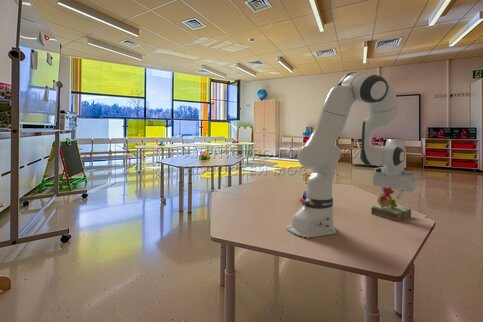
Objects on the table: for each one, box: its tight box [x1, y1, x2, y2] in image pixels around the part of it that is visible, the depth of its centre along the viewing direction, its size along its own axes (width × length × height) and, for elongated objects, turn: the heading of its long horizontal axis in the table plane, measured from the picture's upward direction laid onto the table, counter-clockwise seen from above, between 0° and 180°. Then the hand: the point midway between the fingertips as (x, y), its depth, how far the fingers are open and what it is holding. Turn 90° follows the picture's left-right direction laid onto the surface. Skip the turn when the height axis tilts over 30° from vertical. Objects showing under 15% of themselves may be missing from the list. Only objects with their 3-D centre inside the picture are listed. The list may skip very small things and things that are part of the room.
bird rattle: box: [377, 188, 398, 208], centre depth 130 cm, size 6×11×9 cm
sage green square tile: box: [370, 203, 412, 222], centre depth 131 cm, size 13×13×4 cm
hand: (392, 196), depth 130 cm, fingers open, 5 cm apart
